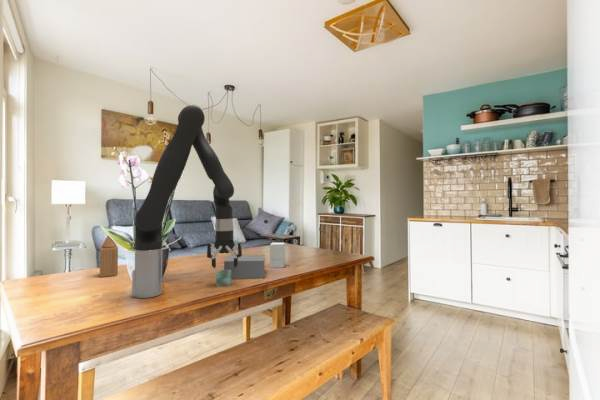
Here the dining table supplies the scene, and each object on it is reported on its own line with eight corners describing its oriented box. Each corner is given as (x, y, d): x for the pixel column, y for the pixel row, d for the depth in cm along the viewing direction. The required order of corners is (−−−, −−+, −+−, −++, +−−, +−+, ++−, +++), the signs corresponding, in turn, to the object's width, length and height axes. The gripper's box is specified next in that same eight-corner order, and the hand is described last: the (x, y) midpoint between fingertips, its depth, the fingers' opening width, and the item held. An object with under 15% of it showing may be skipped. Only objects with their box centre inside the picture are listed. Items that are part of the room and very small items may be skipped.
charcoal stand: (224, 279, 134) (224, 261, 134) (228, 270, 150) (228, 254, 150) (264, 278, 136) (264, 260, 136) (264, 270, 152) (264, 254, 152)
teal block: (216, 286, 124) (216, 272, 124) (218, 282, 129) (218, 269, 129) (229, 285, 124) (229, 272, 124) (231, 282, 130) (231, 269, 130)
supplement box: (285, 265, 164) (285, 242, 164) (283, 268, 157) (283, 244, 157) (272, 264, 165) (272, 242, 165) (269, 267, 158) (269, 243, 158)
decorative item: (99, 277, 136) (99, 234, 136) (101, 274, 142) (101, 232, 142) (116, 276, 139) (116, 233, 139) (117, 272, 145) (118, 231, 145)
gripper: (205, 230, 122) (205, 270, 122) (240, 229, 124) (241, 268, 124) (208, 228, 130) (209, 265, 130) (242, 228, 131) (242, 264, 131)
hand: (224, 267), depth 127 cm, fingers open, 8 cm apart
